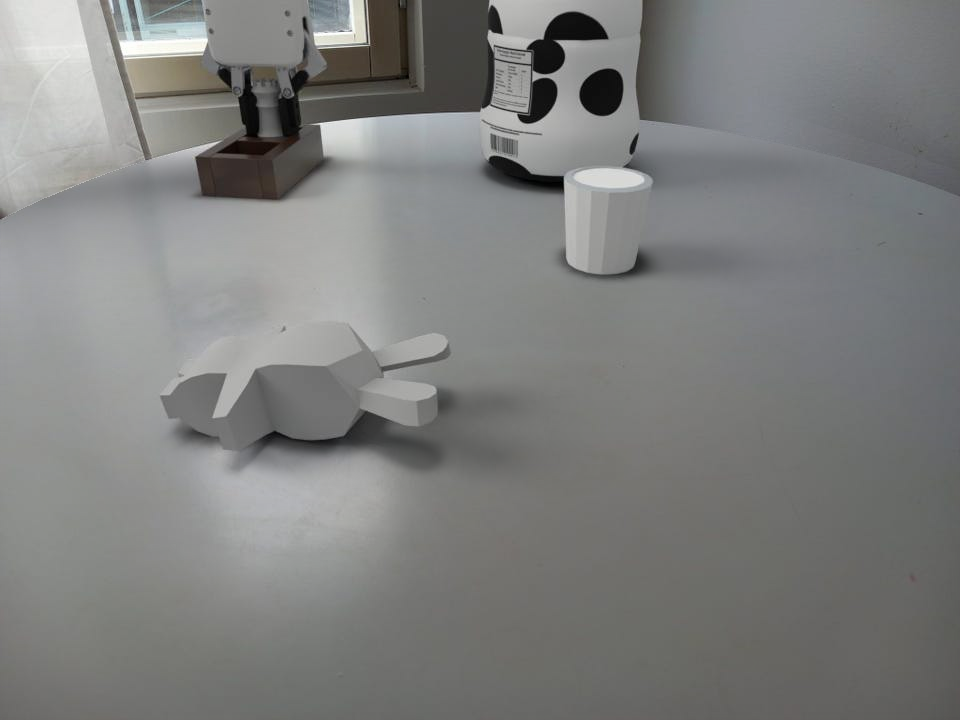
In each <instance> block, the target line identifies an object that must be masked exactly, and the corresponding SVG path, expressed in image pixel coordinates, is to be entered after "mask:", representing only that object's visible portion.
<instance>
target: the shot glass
mask: <svg viewBox="0 0 960 720" xmlns="http://www.w3.org/2000/svg"><path fill="white" fill-rule="evenodd" d="M653 184H654V179H653V178H652V177H651V176H650V175H649V174H647V173H644V172H642V171H640V170H636V169H633V168H628V167H624V168H623V167H613V166H590V167H583V168H577V169H574V170H572V171H569V172H567V174H566V175H565V176H564V182H563V188H564V189H563V190H564V191H563V193H564V223H565V225H564V227H565V254H566V255H565V257H566V258H565V259H566V261H567V264H568V265H569V266H571V267H572V268H574V269H575V270H578V271H581V272H584V273H587V274H594V275H617V274H621V273H627V272H629V271H630V270H631V269H633V268H634V267H635V264H636V261H637V257H638V256H637V255H638V252H639V246H640V242H641V237H642V233H643V228H644V224H645V220H646V215H647V211H648V206H649V202H650V197H651V191H652V189H653Z"/></svg>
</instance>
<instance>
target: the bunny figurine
mask: <svg viewBox="0 0 960 720" xmlns="http://www.w3.org/2000/svg"><path fill="white" fill-rule="evenodd" d="M451 355H452V350H451V347H450V343H449V341H448V339H447V338H446V336H445V335H444V334H440V333H437V332H432V333H427V334H423V335H419V336H416V337H412V338H410V339H406V340H403V341H399V342H397V343H393V344H391V345H388V346H385V347H382V348H379V349H376V350H371V348H369V346H368V345H367V344H366V343H365V342H364V340H363V339H362V338H361V337H360V336H359V335H358V333H357V332H356V331H355V330H354V328H353V327H352V326H351V325H350V324H349V322H347V321H335V320H333V321H332V320H325V321H324V320H322V321H309V322H304V323H299V324H295V325H292V326H291V327H288V328H286V325H285V324H283V325H280V326H275V327H272V328H270V329H269V330H267V331H266V332H264V333H263V334H261V335H260V336H258V337H256V338H255V339H253V340H250V341H248V340H245V339H243V338H241V337H239V336H236V335H230V336H221V337H220V338H218V339H217V340H215V341H213V342H212V343H209V345H208V346H207V347H206V349H205V350H204V351H203V352H202V354H201V355H199V357H191V358H188V359H187V360H186V362H185V363H184V364H183V366H181V368H180V370H179V371H178V372H177V376H178V377H175V378H172V379H171V381H170V382H169V383H168V384H167V385H166V387H165V388H164V389H163V390H162V391H161V393H160V394H159V398H160V401H161V403H162V406H163V408H164V411H165V413H166V415H167V418H168V419H170V420H175V419H177V420H181V421H182V422H183V423H185V424H186V425H187V426H189V427H190V428H192V429H193V430H195V431H196V432H198V433H201V434H204V435H207V436H209V437H212V438H217V437H218V439H219V441H220V444H221V447H222V450H226V451H233V452H240V451H241V450H244V449H245V448H247V447H248V446H250V445H251V444H254V443H255V442H257V441H258V440H260V439H262V438H263V437H265V436H267V435H268V434H271V433H273V432H277V433H278V434H279V433H280V434H282V435H283V436H286V437H288V438H290V439H293V440H294V439H296V440H302V441H303V440H304V441H320V440H329V439H335V438H341V437H344V436H345V435H346V434H347V433H348V432H349V431H350V430H351V429H352V427H353V426H354V425H355V424H356V423H357V421H358V420H359V419H360V418H361V417H362V416H363V415H364V414H365V413H366V411H367V412H369V413H371V414H373V415H376V416H379V417H382V418H385V419H387V420H388V421H389V420H390V421H392V422H395V423H397V424H400V425H403V426H405V427H406V426H408V427H409V426H410V427H419V428H420V427H422V426H425V425H427V424H430V423H432V422H433V421H434V420H435V419H436V418H437V417H438V415H439V403H438V392H437V390H438V389H437V388H436V386H434V385H432V384H429V383H424V382H416V381H410V380H409V381H408V380H400V379H391V378H384V377H385V376H384V375H385V374H384V372H388V371H395V370H400V369H404V368H405V369H406V368H408V367H415V366H420V365H421V366H422V365H426V364H431V363H432V364H433V363H437V362H440V361H443V360H446V359H448V358H449V357H450V356H451Z"/></svg>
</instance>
